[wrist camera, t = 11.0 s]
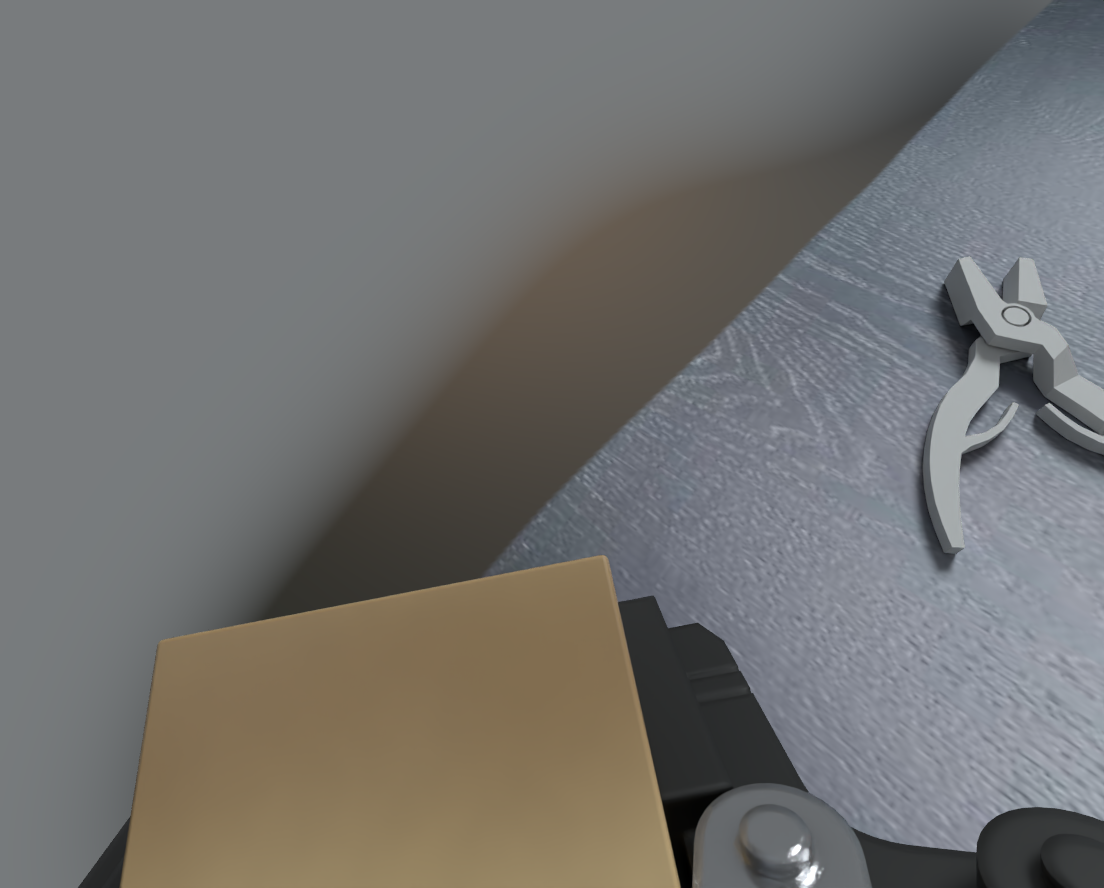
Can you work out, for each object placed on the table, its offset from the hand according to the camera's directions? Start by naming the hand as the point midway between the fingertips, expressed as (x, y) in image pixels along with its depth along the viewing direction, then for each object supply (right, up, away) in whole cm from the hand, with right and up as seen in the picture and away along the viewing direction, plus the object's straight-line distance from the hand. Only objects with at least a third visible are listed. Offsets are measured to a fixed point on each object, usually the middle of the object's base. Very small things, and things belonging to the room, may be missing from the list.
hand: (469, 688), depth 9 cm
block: (+1, -5, +4) cm, 6 cm away
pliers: (+23, +6, +19) cm, 30 cm away
